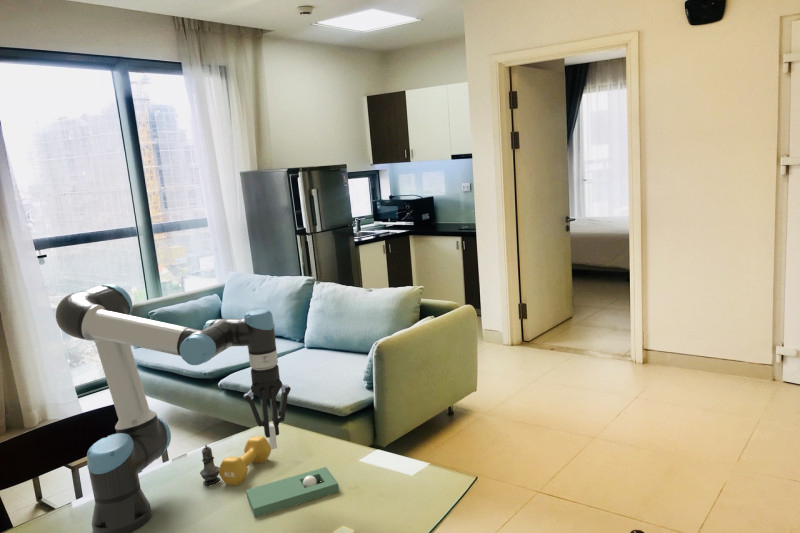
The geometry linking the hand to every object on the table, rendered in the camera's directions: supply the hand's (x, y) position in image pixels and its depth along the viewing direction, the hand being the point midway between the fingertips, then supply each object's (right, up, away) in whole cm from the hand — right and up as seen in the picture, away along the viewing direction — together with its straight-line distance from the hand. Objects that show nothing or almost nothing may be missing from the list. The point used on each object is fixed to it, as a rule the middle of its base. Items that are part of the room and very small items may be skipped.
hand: (273, 446), depth 173 cm
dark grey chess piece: (-22, -16, +17) cm, 32 cm away
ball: (+9, -12, +5) cm, 16 cm away
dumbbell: (-12, -14, +21) cm, 28 cm away
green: (+5, -15, +3) cm, 16 cm away
